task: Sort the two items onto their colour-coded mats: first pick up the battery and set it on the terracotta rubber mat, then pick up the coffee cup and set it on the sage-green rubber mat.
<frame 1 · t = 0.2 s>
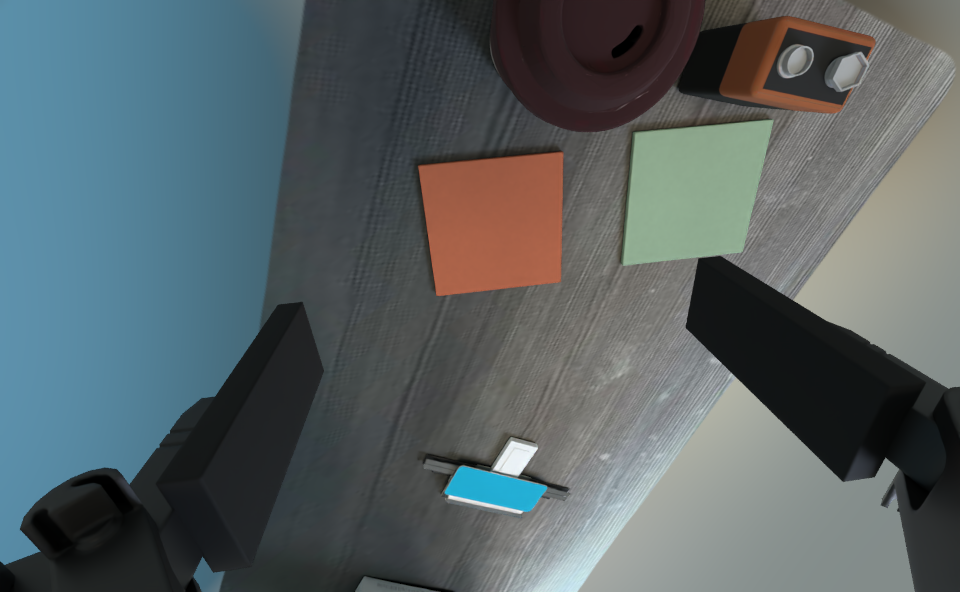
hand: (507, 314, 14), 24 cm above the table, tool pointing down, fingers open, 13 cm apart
sage mat: (690, 196, 38), on the table
battery: (721, 70, 33), on the table
terracotta mat: (494, 227, 37), on the table
coffee cup: (536, 41, 31), on the table
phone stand: (501, 471, 52), on the table
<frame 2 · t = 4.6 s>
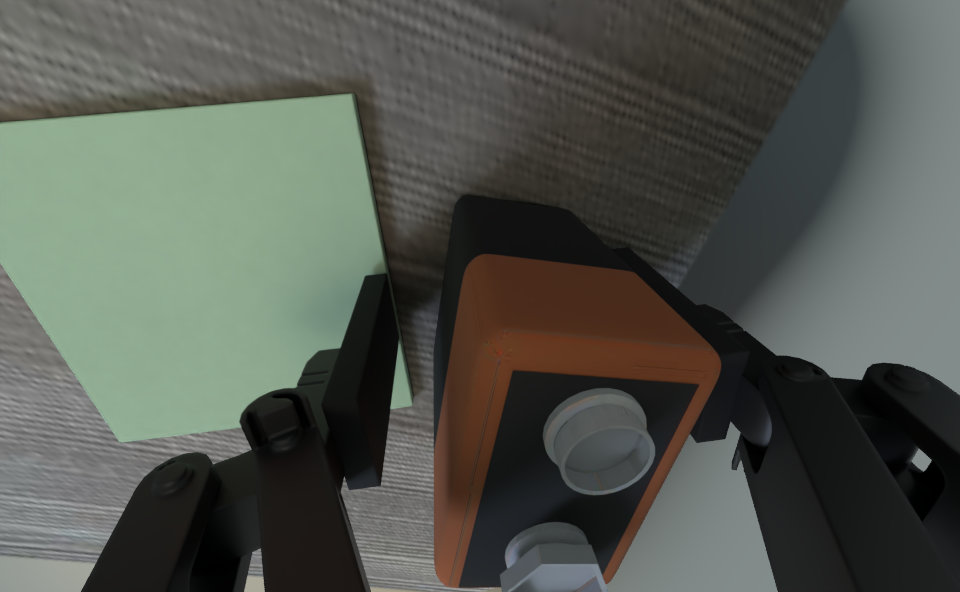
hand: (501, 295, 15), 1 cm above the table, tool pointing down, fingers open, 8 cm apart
sage mat: (222, 291, 15), on the table
battery: (497, 283, 16), on the table
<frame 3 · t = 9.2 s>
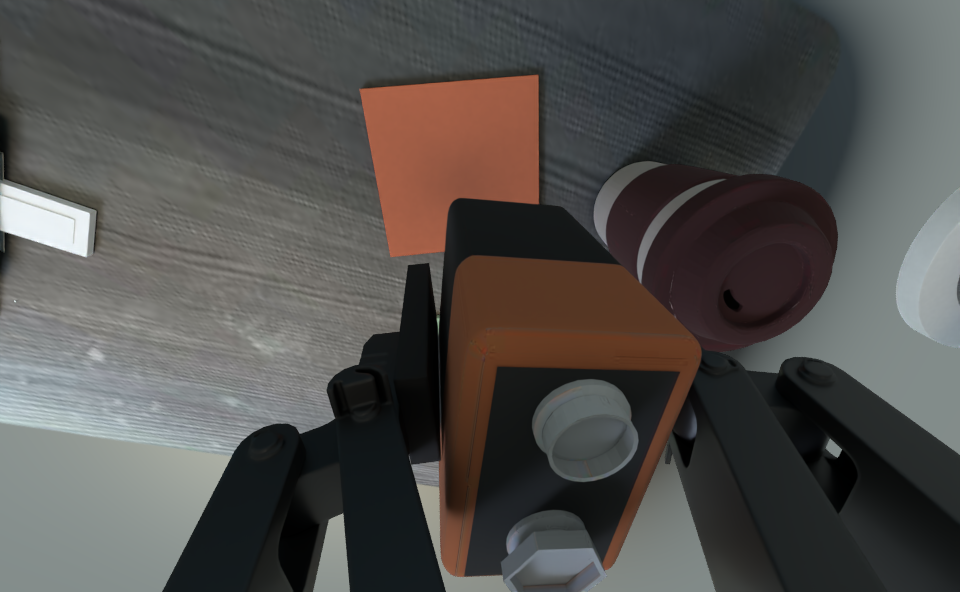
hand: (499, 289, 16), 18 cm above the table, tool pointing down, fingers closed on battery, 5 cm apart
battery: (496, 282, 16), point 17 cm above the table, touching gripper
terracotta mat: (458, 171, 31), on the table
coffee cup: (634, 205, 34), on the table
when the fingers open (1 cm above the table, at t = 13.1 s): battery stays where it is, resting on terracotta mat.
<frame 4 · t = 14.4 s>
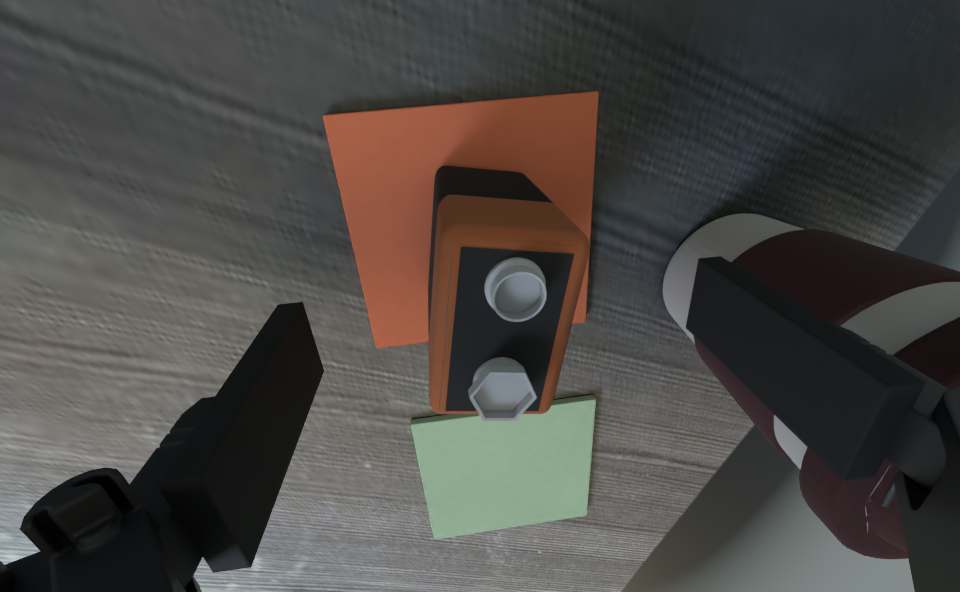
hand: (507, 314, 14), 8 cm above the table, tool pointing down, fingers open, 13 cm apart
sage mat: (507, 469, 30), on the table
battery: (474, 235, 21), resting on terracotta mat
terracotta mat: (473, 231, 21), on the table
coffee cup: (717, 270, 24), on the table
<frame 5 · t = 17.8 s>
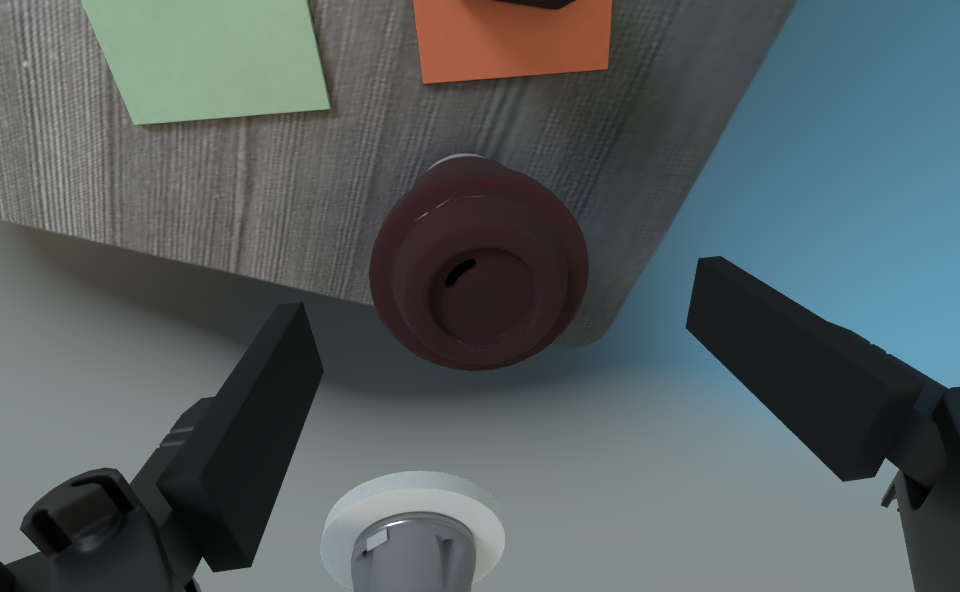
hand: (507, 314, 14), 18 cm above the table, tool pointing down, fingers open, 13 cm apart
sage mat: (200, 2, 24), on the table
coffee cup: (464, 203, 31), on the table
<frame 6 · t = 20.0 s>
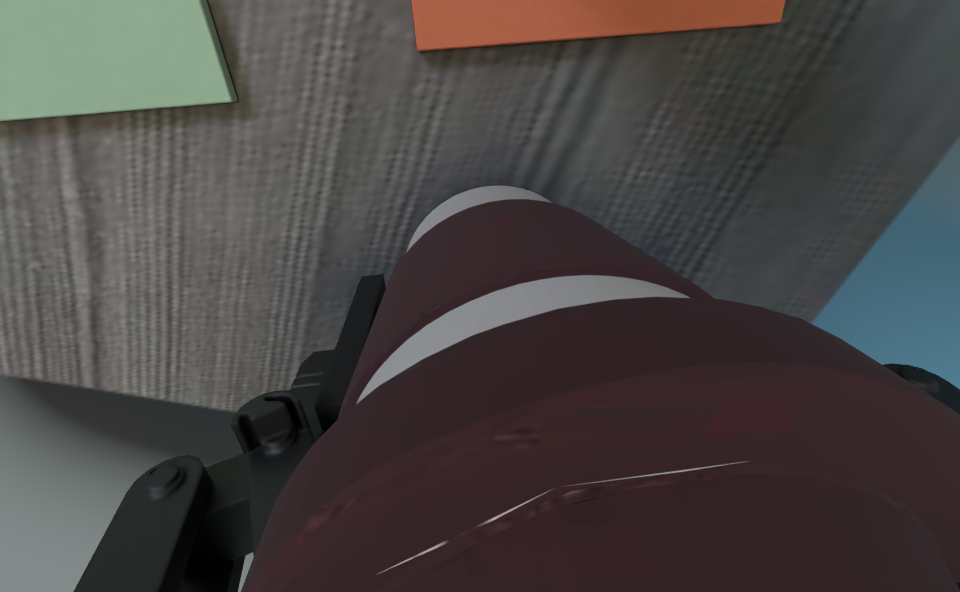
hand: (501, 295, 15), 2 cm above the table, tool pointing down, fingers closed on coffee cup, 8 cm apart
coffee cup: (492, 268, 18), on the table, touching gripper
when the fingers open (3 cm above the table, at t = 28.4 s): coffee cup stays where it is, resting on sage mat.
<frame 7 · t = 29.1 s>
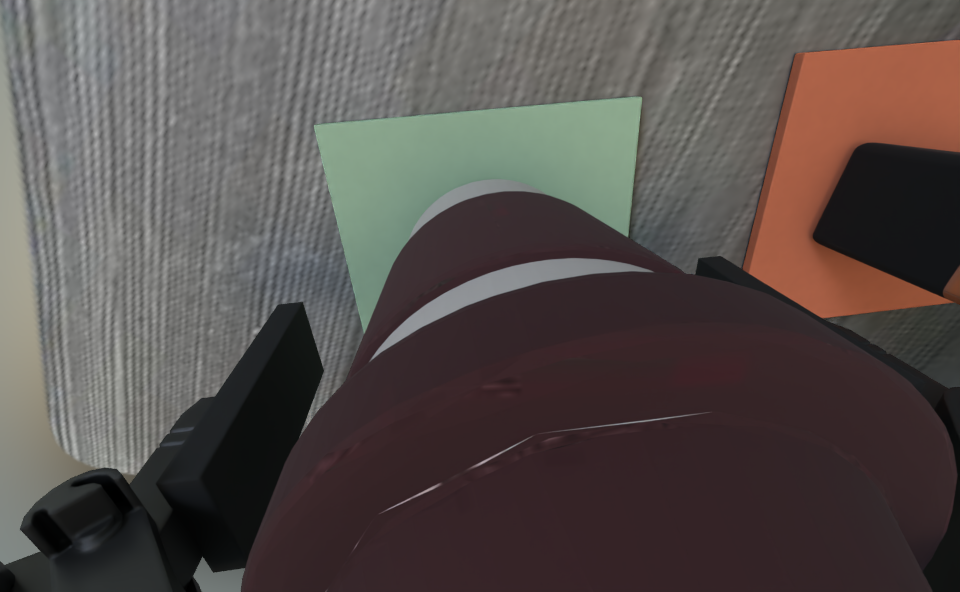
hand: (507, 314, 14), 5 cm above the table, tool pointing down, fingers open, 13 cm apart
sage mat: (490, 258, 18), on the table
battery: (888, 197, 18), resting on terracotta mat
terracotta mat: (883, 196, 19), on the table
coffee cup: (490, 260, 18), resting on sage mat
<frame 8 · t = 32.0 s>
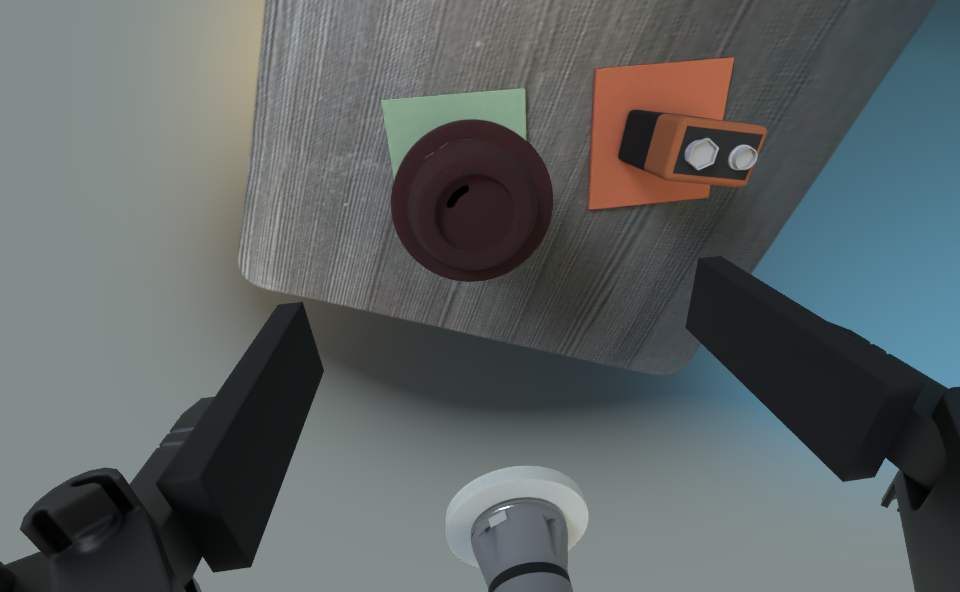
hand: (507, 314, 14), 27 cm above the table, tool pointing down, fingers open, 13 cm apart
sage mat: (460, 167, 38), on the table
battery: (655, 138, 38), resting on terracotta mat
terracotta mat: (654, 137, 38), on the table
coffee cup: (460, 167, 37), resting on sage mat
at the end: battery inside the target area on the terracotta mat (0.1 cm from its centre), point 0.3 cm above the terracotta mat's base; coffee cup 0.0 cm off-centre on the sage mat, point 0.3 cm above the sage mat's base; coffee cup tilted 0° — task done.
